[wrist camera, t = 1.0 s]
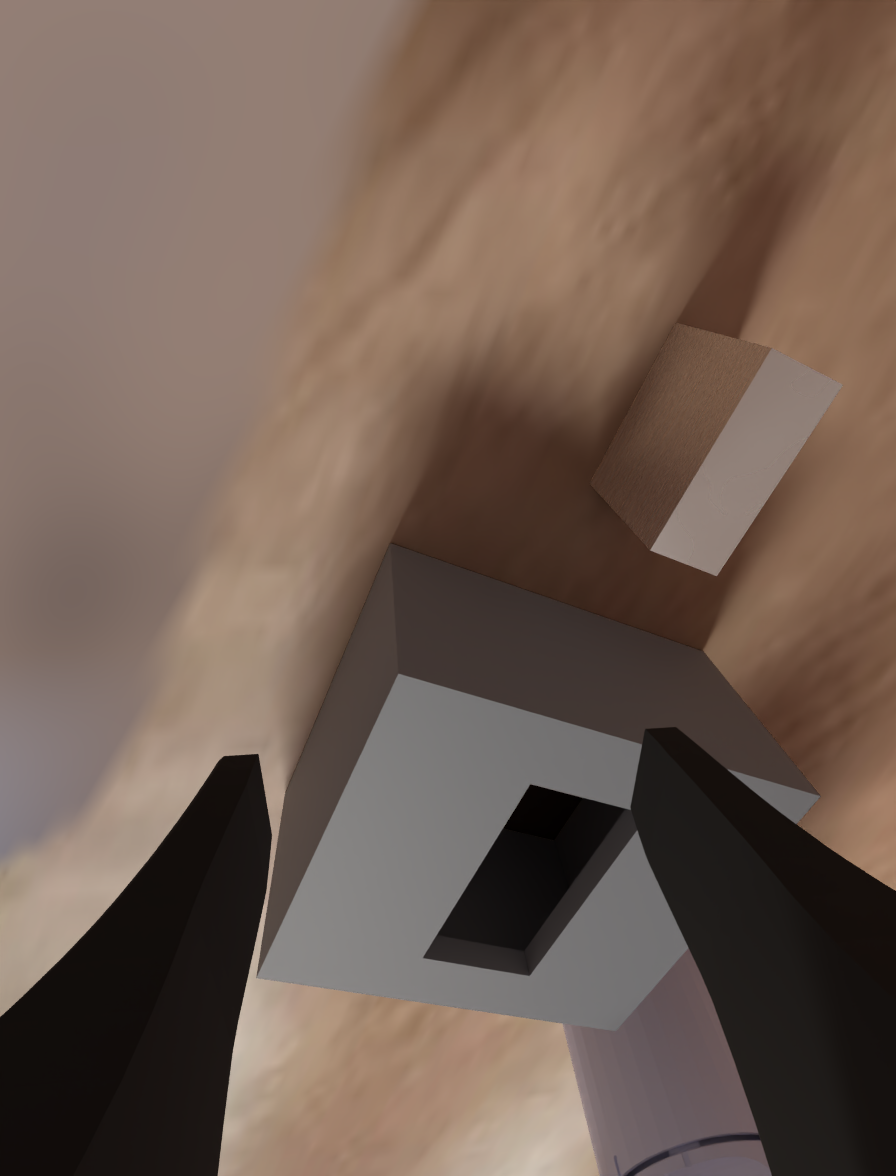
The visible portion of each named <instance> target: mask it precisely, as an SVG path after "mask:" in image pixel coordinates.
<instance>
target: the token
mask: <svg viewBox="0 0 896 1176" xmlns="http://www.w3.org/2000/svg"><path fill="white" fill-rule="evenodd" d="M842 386H843V385H842V384H840V383H839V382H837V381H835V380H833V379H831V378H829V377H827V376H825V375H823V374H821V373H819V372H817V371H815V370H813V369H811V368H810V367H808V366H806V365H804V364H802V363H800V362H798V361H796V360H794V359H792V358H790V357H788V356H786V355H784V354H782V353H781V352H779V351H777V350H775V349H773V348H770V347H766V346H762V345H759V344H755V343H751V342H747V341H744V340H740V339H736V338H732V337H729V336H725V335H721V334H717V333H714V332H710V331H706V330H702V329H699V328H695V327H691V326H687V325H684V324H680V323H675V324H674V326H673V328H672V330H671V332H670V334H669V336H668V338H667V339H666V341H665V343H664V345H663V347H662V349H661V351H660V352H659V354H658V356H657V358H656V360H655V362H654V364H653V366H652V367H651V369H650V371H649V373H648V375H647V377H646V379H645V380H644V382H643V384H642V386H641V388H640V390H639V392H638V394H637V395H636V397H635V399H634V401H633V403H632V405H631V407H630V409H629V410H628V412H627V414H626V416H625V418H624V420H623V422H622V423H621V425H620V427H619V429H618V431H617V433H616V435H615V437H614V438H613V440H612V442H611V444H610V446H609V448H608V450H607V452H606V453H605V455H604V457H603V459H602V461H601V463H600V465H599V466H598V468H597V470H596V472H595V474H594V476H593V478H592V480H591V481H590V483H589V484H590V485H591V486H592V487H593V488H594V489H595V490H596V491H597V492H598V493H599V495H600V496H601V497H602V498H603V499H604V500H605V501H606V502H607V503H608V505H609V506H610V507H611V508H612V509H613V510H614V511H615V512H616V513H617V514H618V516H619V517H620V518H621V519H622V520H623V521H624V522H625V523H626V524H627V526H628V527H629V528H630V529H631V530H632V531H633V532H634V533H635V534H636V535H637V537H638V538H639V539H640V540H641V541H642V542H643V543H644V544H645V545H646V547H647V548H648V549H649V550H650V551H653V552H655V553H658V554H660V555H663V556H666V557H668V558H671V559H673V560H676V561H679V562H681V563H684V564H686V565H689V566H692V567H694V568H697V569H699V570H702V571H705V572H707V573H710V574H712V575H715V576H717V575H718V574H719V572H720V571H721V569H722V568H723V566H724V565H725V563H726V562H727V560H728V559H729V557H730V555H731V554H732V552H733V551H734V549H735V548H736V546H737V545H738V543H739V542H740V540H741V539H742V537H743V536H744V534H745V533H746V531H747V530H748V528H749V527H750V525H751V524H752V522H753V521H754V519H755V518H756V516H757V515H758V513H759V512H760V510H761V509H762V507H763V506H764V504H765V503H766V501H767V500H768V498H769V496H770V495H771V493H772V492H773V490H774V489H775V487H776V486H777V484H778V483H779V481H780V480H781V478H782V477H783V475H784V474H785V472H786V471H787V469H788V468H789V466H790V465H791V463H792V462H793V460H794V459H795V457H796V456H797V454H798V453H799V451H800V450H801V448H802V447H803V445H804V444H805V442H806V441H807V439H808V437H809V436H810V434H811V433H812V431H813V430H814V428H815V427H816V425H817V424H818V422H819V421H820V419H821V418H822V416H823V415H824V413H825V412H826V410H827V409H828V407H829V406H830V404H831V403H832V401H833V400H834V398H835V397H836V395H837V394H838V392H839V391H840V389H841V388H842Z"/></svg>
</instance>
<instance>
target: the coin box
mask: <svg viewBox="0 0 896 1176" xmlns="http://www.w3.org/2000/svg"><path fill="white" fill-rule="evenodd" d="M666 727H677V728H678V729H679V730H680V731H682V732H683V733H684V734H685V735H687V736H688V737H689V738H690V739H692V740H693V741H694V742H695V743H696V744H698V745H699V746H700V747H701V748H702V749H703V750H705V751H706V752H707V753H708V754H709V755H711V756H712V757H713V758H714V759H715V760H717V761H718V762H719V763H720V764H721V765H722V766H724V767H725V768H726V769H727V770H728V771H730V772H731V773H732V774H733V775H734V776H736V777H737V778H738V779H739V780H741V781H742V782H743V783H744V784H745V785H747V786H748V787H749V788H750V789H752V790H753V791H754V792H755V793H756V794H758V795H759V796H760V797H761V798H763V799H764V800H765V801H767V802H768V803H769V804H770V805H772V806H773V807H774V808H775V809H777V810H778V811H779V812H781V813H782V814H783V815H785V816H786V817H787V818H788V819H790V820H791V821H792V822H794V823H795V824H797V823H798V822H799V821H800V820H801V818H802V817H803V816H804V815H805V814H806V813H807V812H808V810H809V809H810V808H811V807H812V806H813V805H814V804H815V802H816V801H817V800H818V799H819V798H820V797H821V796H820V795H819V793H818V792H817V791H816V790H815V789H814V787H813V786H812V785H811V784H810V782H809V781H808V780H807V779H806V777H805V776H804V775H803V774H802V773H801V771H800V770H799V769H798V768H797V766H796V765H795V764H794V763H793V761H792V760H791V759H790V758H789V756H788V755H787V754H786V753H785V752H784V750H783V749H782V748H781V747H780V745H779V744H778V743H777V742H776V740H775V739H774V738H773V737H772V735H771V734H770V733H769V732H768V731H767V729H766V728H765V727H764V726H763V724H762V723H761V722H760V721H759V719H758V718H757V717H756V716H755V715H754V713H753V712H752V711H751V710H750V708H749V707H748V706H747V705H746V703H745V702H744V701H743V700H742V698H741V697H740V696H739V695H738V694H737V692H736V691H735V690H734V689H733V687H732V686H731V685H730V684H729V682H728V681H727V680H726V679H725V677H724V676H723V675H722V674H721V673H720V671H719V670H718V669H717V668H716V666H715V665H714V664H713V663H712V661H711V660H710V659H709V658H708V656H707V655H706V654H705V653H704V652H703V651H701V650H698V649H695V648H692V647H689V646H686V645H683V644H680V643H677V642H675V641H672V640H669V639H666V638H663V637H660V636H657V635H654V634H652V633H649V632H646V631H643V630H640V629H637V628H634V627H631V626H628V625H626V624H623V623H620V622H617V621H614V620H611V619H608V618H605V617H602V616H600V615H597V614H594V613H591V612H588V611H585V610H582V609H579V608H576V607H574V606H571V605H568V604H565V603H562V602H559V601H556V600H553V599H550V598H548V597H545V596H542V595H539V594H536V593H533V592H530V591H527V590H524V589H522V588H519V587H516V586H513V585H510V584H507V583H504V582H501V581H498V580H496V579H493V578H490V577H487V576H484V575H481V574H478V573H475V572H472V571H470V570H467V569H464V568H461V567H458V566H455V565H452V564H449V563H446V562H444V561H441V560H438V559H435V558H432V557H429V556H426V555H423V554H420V553H418V552H415V551H412V550H409V549H406V548H403V547H400V546H397V545H394V544H392V543H390V545H389V547H388V549H387V552H386V554H385V557H384V559H383V561H382V564H381V566H380V569H379V571H378V573H377V576H376V578H375V580H374V583H373V585H372V588H371V590H370V592H369V595H368V597H367V600H366V602H365V604H364V607H363V609H362V612H361V614H360V616H359V619H358V621H357V623H356V626H355V628H354V631H353V633H352V635H351V638H350V640H349V643H348V645H347V647H346V650H345V652H344V655H343V657H342V659H341V662H340V664H339V666H338V669H337V671H336V674H335V676H334V678H333V681H332V683H331V686H330V688H329V690H328V693H327V695H326V698H325V700H324V702H323V705H322V707H321V709H320V712H319V714H318V717H317V719H316V721H315V724H314V726H313V729H312V731H311V733H310V736H309V738H308V741H307V743H306V745H305V748H304V750H303V752H302V755H301V757H300V760H299V762H298V764H297V767H296V769H295V772H294V774H293V776H292V779H291V781H290V784H289V786H288V788H287V791H286V793H285V797H284V804H283V810H282V817H281V823H280V829H279V836H278V842H277V849H276V855H275V862H274V868H273V874H272V881H271V887H270V894H269V900H268V907H267V913H266V919H265V926H264V932H263V939H262V945H261V951H260V958H259V964H258V971H257V977H256V978H259V979H266V980H273V981H280V982H286V983H293V984H300V985H307V986H313V987H320V988H327V989H334V990H340V991H347V992H354V993H361V994H367V995H374V996H381V997H388V998H394V999H401V1000H408V1001H415V1002H421V1003H428V1004H435V1005H442V1006H448V1007H455V1008H462V1009H469V1010H475V1011H482V1012H489V1013H496V1014H502V1015H509V1016H516V1017H523V1018H529V1019H536V1020H543V1021H549V1022H556V1023H563V1024H570V1025H576V1026H583V1027H590V1028H597V1029H603V1030H610V1031H617V1030H618V1028H619V1027H620V1026H621V1025H622V1024H623V1023H624V1022H625V1020H626V1019H627V1018H628V1017H629V1016H630V1015H631V1014H632V1012H633V1011H634V1010H635V1009H636V1008H637V1007H638V1005H639V1004H640V1003H641V1002H642V1001H643V1000H644V999H645V997H646V996H647V995H648V994H649V993H650V992H651V991H652V989H653V988H654V987H655V986H656V985H657V984H658V983H659V981H660V980H661V979H662V978H663V977H664V976H665V975H666V973H667V972H668V971H669V970H670V969H671V968H672V966H673V965H674V964H675V963H676V962H677V961H678V960H679V958H680V957H681V956H682V955H683V954H684V953H685V952H686V950H687V949H688V946H687V944H686V942H685V940H684V937H683V935H682V933H681V931H680V929H679V927H678V925H677V923H676V920H675V918H674V916H673V914H672V912H671V910H670V908H669V906H668V904H667V901H666V899H665V897H664V895H663V893H662V891H661V888H660V886H659V884H658V882H657V880H656V878H655V876H654V873H653V871H652V869H651V867H650V865H649V862H648V860H647V858H646V855H645V852H644V849H643V846H642V843H641V840H640V837H639V834H638V831H637V828H636V824H635V821H634V818H633V815H632V811H631V808H630V807H631V801H632V796H633V790H634V785H635V780H636V774H637V769H638V764H639V758H640V753H641V748H642V742H643V737H644V731H645V729H651V728H666ZM530 784H532V785H536V786H540V787H544V788H547V789H551V790H555V791H559V792H563V793H567V794H571V795H575V796H579V797H582V800H581V801H580V803H579V804H578V806H577V807H576V809H575V810H574V812H573V813H572V815H571V816H570V818H569V819H568V821H567V822H566V824H565V825H564V826H563V828H562V829H561V831H560V832H559V834H558V835H557V837H556V838H555V840H550V839H546V838H542V837H537V836H533V835H529V834H525V833H520V832H516V831H512V830H507V829H503V827H504V826H505V824H506V823H507V821H508V819H509V818H510V816H511V815H512V813H513V811H514V810H515V808H516V806H517V805H518V803H519V802H520V800H521V798H522V797H523V795H524V794H525V792H526V790H527V789H528V787H529V785H530Z"/></svg>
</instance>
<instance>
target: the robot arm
mask: <svg viewBox="0 0 896 1176" xmlns="http://www.w3.org/2000/svg"><path fill="white" fill-rule="evenodd" d="M630 808H631V811H632V815H633V818H634V821H635V824H636V828H637V831H638V834H639V837H640V840H641V843H642V846H643V849H644V852H645V855H646V858H647V860H648V862H649V865H650V867H651V869H652V871H653V873H654V876H655V878H656V880H657V882H658V884H659V886H660V888H661V891H662V893H663V895H664V897H665V899H666V901H667V904H668V906H669V908H670V910H671V912H672V914H673V916H674V918H675V920H676V923H677V925H678V927H679V929H680V931H681V933H682V935H683V937H684V940H685V942H686V944H687V946H688V949H687V950H686V952H685V953H684V954H683V955H682V956H681V957H680V958H679V960H678V961H677V962H676V963H675V964H674V965H673V966H672V968H671V969H670V970H669V971H668V972H667V973H666V975H665V976H664V977H663V978H662V979H661V980H660V981H659V983H658V984H657V985H656V986H655V987H654V988H653V989H652V991H651V992H650V993H649V994H648V995H647V996H646V997H645V999H644V1000H643V1001H642V1002H641V1003H640V1004H639V1005H638V1007H637V1008H636V1009H635V1010H634V1011H633V1012H632V1014H631V1015H630V1016H629V1017H628V1018H627V1019H626V1020H625V1022H624V1023H623V1024H622V1025H621V1026H620V1027H619V1028H618V1030H617V1031H610V1030H603V1029H597V1028H590V1027H583V1026H576V1025H570V1024H563V1027H564V1031H565V1035H566V1039H567V1043H568V1048H569V1052H570V1056H571V1060H572V1064H573V1068H574V1072H575V1076H576V1080H577V1084H578V1088H579V1092H580V1097H581V1101H582V1105H583V1109H584V1113H585V1117H586V1121H587V1125H588V1129H589V1133H590V1137H591V1141H592V1146H593V1150H594V1154H595V1158H596V1162H597V1166H598V1170H599V1174H600V1176H896V891H895V890H893V889H891V888H890V887H888V886H886V885H885V884H883V883H882V882H880V881H879V880H877V879H876V878H874V877H872V876H871V875H869V874H868V873H866V872H865V871H863V870H861V869H860V868H858V867H857V866H855V865H854V864H852V863H851V862H849V861H847V860H846V859H844V858H843V857H841V856H840V855H839V854H837V853H836V852H834V851H833V850H831V849H830V848H828V847H827V846H825V845H824V844H823V843H821V842H820V841H819V840H817V839H816V838H814V837H813V836H812V835H810V834H809V833H808V832H806V831H805V830H803V829H802V828H801V827H799V826H798V825H797V824H795V823H794V822H792V821H791V820H790V819H788V818H787V817H786V816H785V815H783V814H782V813H781V812H779V811H778V810H777V809H775V808H774V807H773V806H772V805H770V804H769V803H768V802H767V801H765V800H764V799H763V798H761V797H760V796H759V795H758V794H756V793H755V792H754V791H753V790H752V789H750V788H749V787H748V786H747V785H745V784H744V783H743V782H742V781H741V780H739V779H738V778H737V777H736V776H734V775H733V774H732V773H731V772H730V771H728V770H727V769H726V768H725V767H724V766H722V765H721V764H720V763H719V762H718V761H717V760H715V759H714V758H713V757H712V756H711V755H709V754H708V753H707V752H706V751H705V750H703V749H702V748H701V747H700V746H699V745H698V744H696V743H695V742H694V741H693V740H692V739H690V738H689V737H688V736H687V735H685V734H684V733H683V732H682V731H680V730H679V729H678V728H677V727H666V728H651V729H645V731H644V737H643V742H642V748H641V753H640V758H639V764H638V769H637V774H636V780H635V785H634V790H633V796H632V801H631V807H630ZM271 840H272V832H271V827H270V821H269V815H268V809H267V803H266V797H265V791H264V785H263V779H262V773H261V767H260V761H259V755H258V754H251V755H235V756H224V757H223V758H222V759H220V760H219V761H218V763H217V764H216V766H215V767H214V769H213V771H212V772H211V774H210V775H209V777H208V778H207V780H206V781H205V783H204V784H203V786H202V787H201V789H200V790H199V792H198V793H197V795H196V796H195V797H194V799H193V800H192V802H191V803H190V805H189V806H188V807H187V809H186V810H185V812H184V813H183V815H182V816H181V817H180V819H179V820H178V821H177V823H176V824H175V825H174V827H173V828H172V830H171V831H170V832H169V834H168V835H167V836H166V838H165V839H164V840H163V842H162V843H161V844H160V846H159V847H158V848H157V850H156V851H155V852H154V854H153V855H152V856H151V857H150V859H149V860H148V861H147V862H146V864H145V865H144V866H143V867H142V868H141V870H140V871H139V872H138V873H137V875H136V876H135V877H134V878H133V879H132V881H131V882H130V883H129V884H128V885H127V887H126V888H125V889H124V890H123V892H122V893H121V894H120V895H119V896H118V898H117V899H116V900H115V901H114V902H113V903H112V905H111V906H110V907H109V908H108V909H107V910H106V911H105V912H104V914H103V915H102V916H101V917H100V918H99V919H98V920H97V921H96V923H95V924H94V925H93V926H92V927H91V928H90V929H89V930H88V931H87V932H86V933H85V934H84V935H83V937H82V938H81V939H80V940H79V941H78V942H77V943H76V944H75V945H74V946H73V947H72V948H71V949H70V950H69V951H68V952H67V953H66V954H65V955H64V956H63V957H62V958H61V959H60V960H59V961H58V962H57V963H56V964H55V965H54V966H53V967H52V968H51V969H50V970H49V971H48V972H47V973H46V974H45V975H44V976H43V977H42V978H41V979H40V980H39V981H38V982H37V983H36V984H35V985H34V986H33V987H32V988H31V989H30V990H29V991H28V992H27V993H26V994H25V995H24V996H23V997H21V998H20V999H19V1000H18V1001H17V1002H16V1003H15V1004H14V1005H13V1006H12V1007H11V1008H10V1009H9V1010H8V1011H6V1012H5V1013H4V1014H3V1015H2V1016H1V1017H0V1176H217V1175H218V1167H219V1158H220V1150H221V1141H222V1132H223V1124H224V1115H225V1108H226V1100H227V1092H228V1084H229V1076H230V1068H231V1061H232V1053H233V1047H234V1041H235V1036H236V1030H237V1025H238V1019H239V1015H240V1010H241V1006H242V1001H243V997H244V992H245V987H246V983H247V978H248V974H249V969H250V964H251V960H252V955H253V951H254V946H255V942H256V937H257V932H258V928H259V923H260V918H261V914H262V909H263V904H264V899H265V895H266V889H267V880H268V871H269V861H270V850H271Z"/></svg>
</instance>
